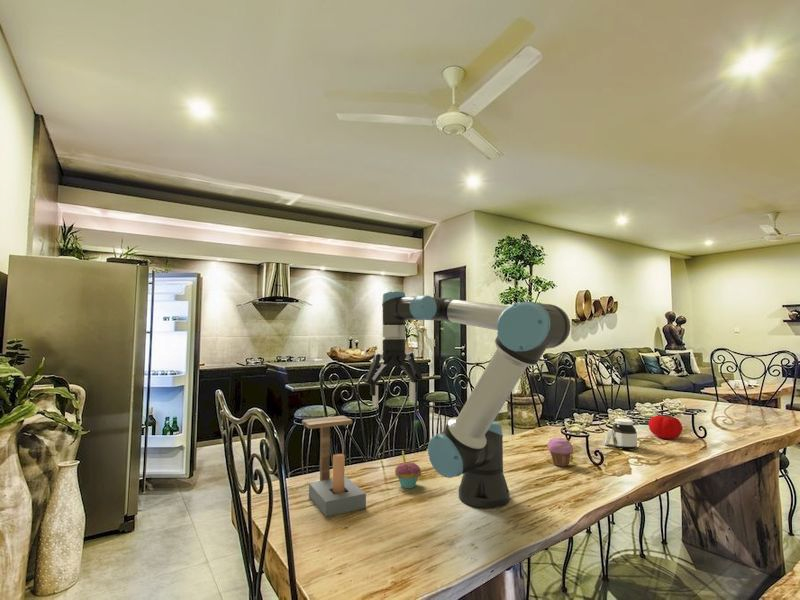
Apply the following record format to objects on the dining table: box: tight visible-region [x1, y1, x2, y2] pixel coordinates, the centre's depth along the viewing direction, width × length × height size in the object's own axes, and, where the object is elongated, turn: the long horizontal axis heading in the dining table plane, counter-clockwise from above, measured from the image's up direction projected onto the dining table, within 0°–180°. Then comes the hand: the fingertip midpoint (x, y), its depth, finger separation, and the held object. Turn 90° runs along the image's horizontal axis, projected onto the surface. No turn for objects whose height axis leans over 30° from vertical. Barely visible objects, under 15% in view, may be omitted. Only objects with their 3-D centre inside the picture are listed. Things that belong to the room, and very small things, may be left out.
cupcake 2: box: [547, 437, 574, 468], centre depth 156 cm, size 9×9×10 cm
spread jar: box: [603, 418, 638, 450], centre depth 179 cm, size 12×11×12 cm
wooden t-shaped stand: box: [301, 415, 353, 481], centre depth 132 cm, size 8×14×22 cm, turn 118°
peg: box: [332, 453, 346, 494], centre depth 122 cm, size 3×3×14 cm
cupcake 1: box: [394, 448, 422, 489], centre depth 137 cm, size 9×8×12 cm
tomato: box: [648, 414, 683, 440], centre depth 194 cm, size 13×12×11 cm
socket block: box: [308, 475, 367, 518], centre depth 124 cm, size 16×12×4 cm
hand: (394, 404), depth 136 cm, fingers open, 13 cm apart
